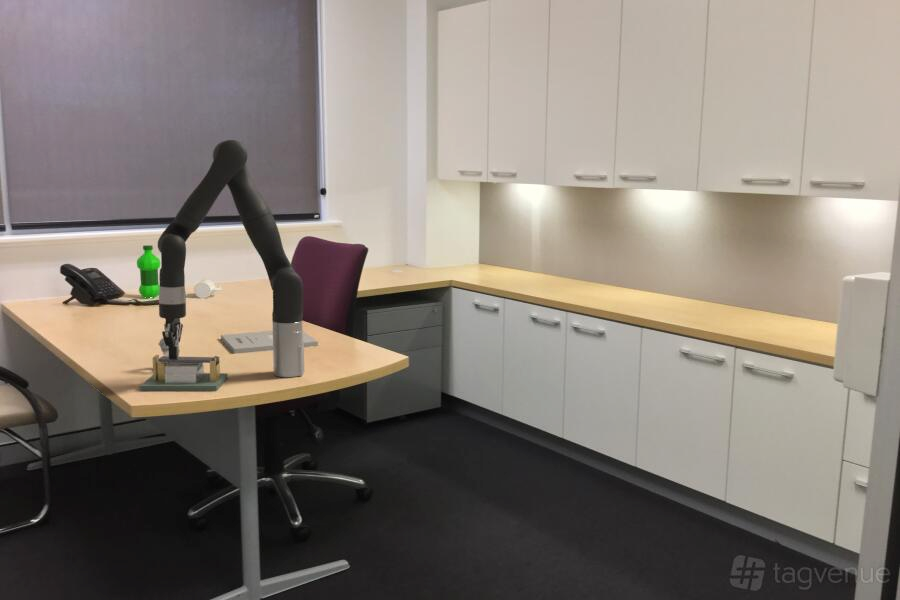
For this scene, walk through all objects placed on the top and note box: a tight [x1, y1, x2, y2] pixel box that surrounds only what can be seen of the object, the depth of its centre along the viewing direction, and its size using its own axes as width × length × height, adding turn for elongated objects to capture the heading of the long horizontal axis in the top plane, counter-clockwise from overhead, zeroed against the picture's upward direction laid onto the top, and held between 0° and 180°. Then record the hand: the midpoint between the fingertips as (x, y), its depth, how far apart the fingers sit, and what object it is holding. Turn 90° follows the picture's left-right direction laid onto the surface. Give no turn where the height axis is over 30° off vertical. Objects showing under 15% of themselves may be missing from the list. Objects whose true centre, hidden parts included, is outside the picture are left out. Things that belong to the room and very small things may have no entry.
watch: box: [157, 337, 180, 364], centre depth 258 cm, size 6×8×11 cm
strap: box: [158, 355, 220, 364], centre depth 241 cm, size 17×4×2 cm, turn 92°
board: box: [139, 372, 229, 392], centre depth 242 cm, size 22×14×2 cm, turn 92°
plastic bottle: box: [136, 244, 161, 299], centre depth 385 cm, size 10×10×25 cm
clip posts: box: [151, 354, 221, 382], centre depth 241 cm, size 19×5×7 cm, turn 92°
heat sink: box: [165, 362, 205, 384], centre depth 241 cm, size 9×9×5 cm
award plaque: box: [220, 330, 319, 355], centre depth 298 cm, size 25×30×2 cm
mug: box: [193, 278, 223, 299], centre depth 392 cm, size 12×10×8 cm
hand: (173, 358), depth 240 cm, fingers closed
